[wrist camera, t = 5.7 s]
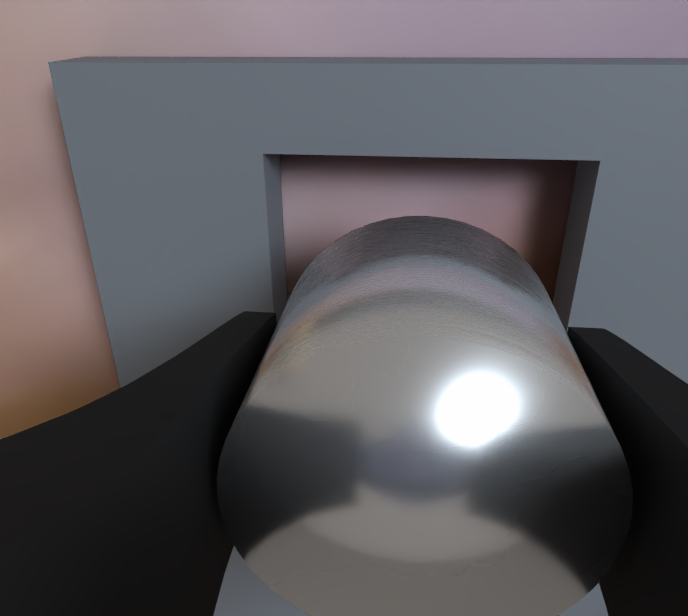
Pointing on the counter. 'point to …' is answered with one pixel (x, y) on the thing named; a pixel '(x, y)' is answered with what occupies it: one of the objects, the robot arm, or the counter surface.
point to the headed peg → (423, 437)
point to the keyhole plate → (364, 140)
